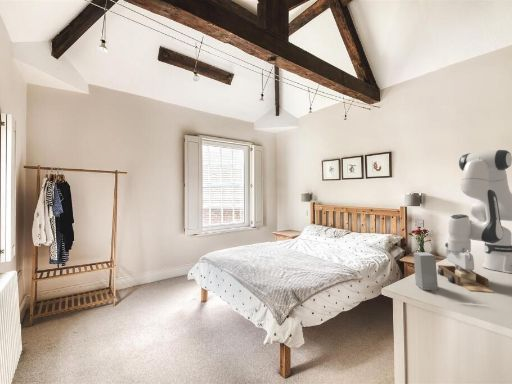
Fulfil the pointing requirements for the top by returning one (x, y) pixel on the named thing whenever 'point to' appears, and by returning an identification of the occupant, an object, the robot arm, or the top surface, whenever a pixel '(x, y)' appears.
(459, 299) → the top surface
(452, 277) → the cart bed
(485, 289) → the tailgate
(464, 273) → the block
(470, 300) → the top surface
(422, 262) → the skincare box
